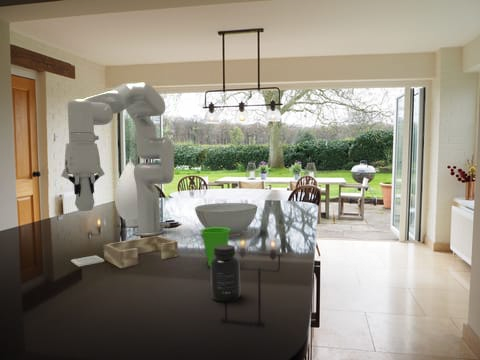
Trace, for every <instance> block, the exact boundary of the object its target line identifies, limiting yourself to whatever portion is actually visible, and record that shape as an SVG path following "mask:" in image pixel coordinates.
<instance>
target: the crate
mask: <svg viewBox="0 0 480 360" xmlns="http://www.w3.org/2000/svg"><path fill="white" fill-rule="evenodd" d="M178 247H179V245H178V241H177V240H173V239H170V238H167V237H164V236H161V235H152V236H145V237H142V238H135V239H130V240H129V239H128V240H122V241H118V242H117V241H116V242H110V243H105V244H103V259H104V261H106V262H109V263H110V264H112V265H114V266H115V267H118V268H120V269H123V268H127V267H128V268H129V267H133V266H138V265H139V261H138V260H139V259H138V254H144V253H149V252H155V251H158V252H160V254H161V255H160V257H161V259H162V260H166V259H171V258H175V257H179V248H178Z"/></svg>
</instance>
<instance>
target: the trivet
mask: <svg viewBox="0 0 480 360" xmlns="http://www.w3.org/2000/svg"><path fill="white" fill-rule="evenodd" d="M70 262H72V263H73V264H74V265H76V266H77V267H83V266H90V265H94V264H95V265H96V264H99V263H103V262H105V260H104V258H102V257H99V256H98V255H91V256H85V257H79V258H74V259H71V260H70Z"/></svg>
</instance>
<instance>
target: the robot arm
mask: <svg viewBox="0 0 480 360" xmlns="http://www.w3.org/2000/svg"><path fill="white" fill-rule="evenodd" d="M66 108H67V121H68V143H66V144H65V151H64V152H65V153H64V168H63V171H62V173H61V177H62V178H64V179H67V180H68V181H70V182H71V183H72V184H73V191H74V195H76V194H79V197H80V193H81V185H80V184H79V174H82V173H84V172H87V173H89V174H90V177H89V180H90V189H91V193H92V196H93V197H94V193H95V183H96V182H97V180H98V179H100V178H101V177H103V176H105V171H104V170H103V168H102V166H101V159H100V153H99V151H100V150H99V148H98V145H97V144H98V143H97V142H96V141H99V139H100V137H99V135H96V133H95V126H104V125H108V124H110V123H111V122H112V120H113V117H114V115H116V114H120V113H122V112H123V111H124V110H125V111H126V113H127V114H128V116H129V117H130V119H131V120H132V122H133V124H134V125H135V129H136V154H137V156H138V157H139V159H142V160H160V161H159V162H158V161H157V162H155V161H154V162H151V161H150V162H149V161H146V162H140V163H138V164H137V165H134V166H135V168H134V178H135V182H136V189H137V209H138V226H137V230H134V235H135V236H139V237H141V236H142V237H152V236H159V235H162V234H163V233H165V231H164V228H168V227H169V228H170V226H171V223H170V222H162V221H161V215H160V213H161V212H160V211H161V210H160V193H159V191H158V189H157V187H156V186H155V185H165V184H166V185H167V184H171V183H172V182H173V180H174V177H175V160H174V159H175V157H174V156H175V155H174V154H175V152H174V151H175V150H174V146H173V142H172V140H171V139H170V138H168V137H163V136H160V137H157V126H156V124H155V122H154V121H153V119H152V118H151V117H160V116H162V115H164V113H165V111H166V102H165V100H164V98H163V97H162V96H161V94H160V93H159V92H158V91H157V89H155V88H154V87H153V86H152V85H151V84H150V83H148V82H145V81H138V82H126V83H125V82H124V83H122V84H119V85H117V86H115V87H114V88H112V89H110V90H109V91H106V92H102V93H99V94H96V95H92V96H89V97H85V98H82V99H80V98H79V99H77V98H76V99H70V100H68V102H67V107H66ZM95 142H96V143H95Z"/></svg>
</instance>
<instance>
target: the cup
mask: <svg viewBox="0 0 480 360" xmlns="http://www.w3.org/2000/svg"><path fill="white" fill-rule="evenodd" d="M229 231H230V229H229V228H225V227H210V228H205V227H204V228H202V229H201V230H200V232H201V235H202V240H203V245H204V251H205V256H206V262H207V266H208V267H210V268H211V261H212V259H213V258H215V256H214V247H216V246H219V245H229V238H230V237H229Z"/></svg>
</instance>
